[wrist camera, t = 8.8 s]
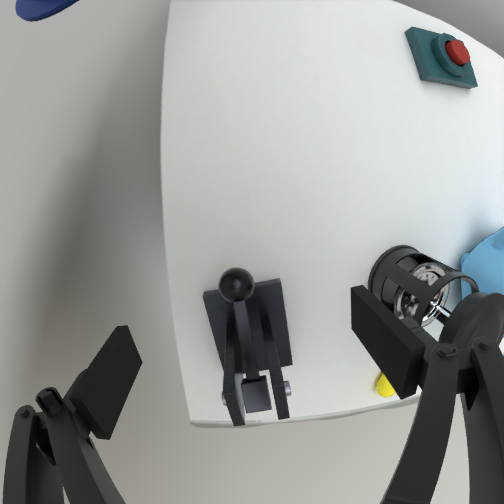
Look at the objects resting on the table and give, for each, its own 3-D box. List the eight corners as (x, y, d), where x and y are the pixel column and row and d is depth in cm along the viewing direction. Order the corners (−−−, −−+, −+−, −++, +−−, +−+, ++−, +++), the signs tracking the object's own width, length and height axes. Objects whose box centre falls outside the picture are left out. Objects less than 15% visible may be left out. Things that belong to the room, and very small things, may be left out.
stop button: (441, 40, 22) (448, 36, 21) (457, 45, 22) (464, 42, 21) (449, 62, 23) (457, 59, 21) (465, 67, 23) (472, 64, 22)
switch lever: (219, 274, 27) (213, 268, 24) (251, 268, 27) (250, 261, 24) (242, 405, 24) (240, 415, 21) (276, 400, 24) (277, 410, 21)
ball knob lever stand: (203, 291, 33) (184, 360, 19) (279, 278, 33) (305, 341, 19) (225, 371, 36) (222, 450, 22) (291, 359, 36) (313, 436, 22)
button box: (404, 32, 25) (418, 21, 21) (454, 45, 25) (469, 38, 21) (420, 80, 27) (437, 72, 23) (469, 88, 27) (485, 84, 23)
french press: (399, 226, 32) (550, 288, 10) (437, 265, 34) (559, 336, 11) (346, 301, 34) (449, 432, 12) (389, 331, 36) (482, 441, 14)
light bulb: (375, 392, 39) (377, 402, 35) (376, 360, 39) (379, 368, 35) (394, 390, 38) (398, 399, 34) (396, 357, 38) (401, 365, 35)
